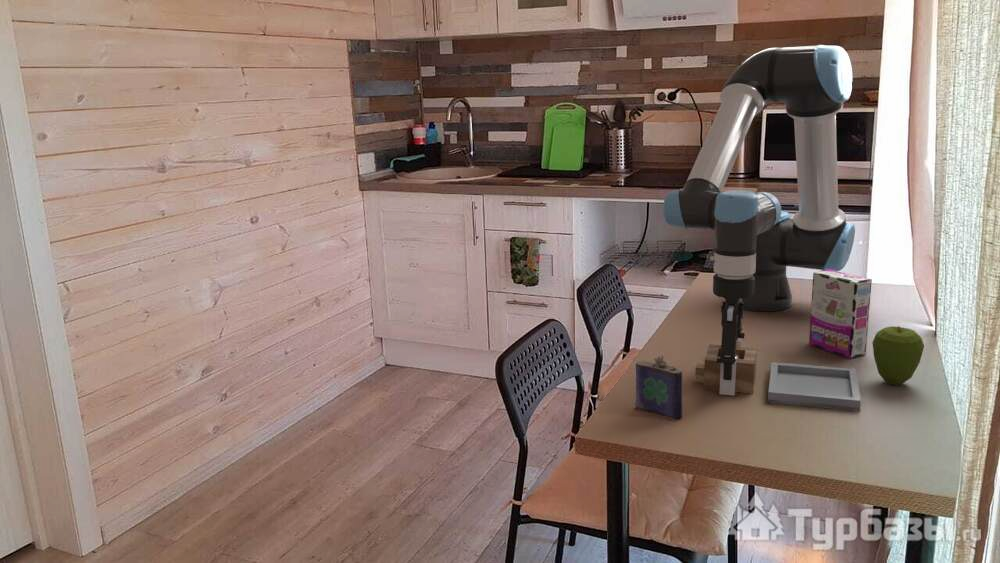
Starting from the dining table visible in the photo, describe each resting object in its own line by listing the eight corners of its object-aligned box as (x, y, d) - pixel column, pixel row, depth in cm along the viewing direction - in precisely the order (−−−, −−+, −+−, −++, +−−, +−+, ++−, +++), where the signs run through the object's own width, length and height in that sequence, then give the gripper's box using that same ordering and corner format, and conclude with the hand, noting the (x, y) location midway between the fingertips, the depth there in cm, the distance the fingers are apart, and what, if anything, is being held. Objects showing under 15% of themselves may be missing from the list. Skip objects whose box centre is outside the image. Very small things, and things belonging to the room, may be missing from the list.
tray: (771, 371, 159) (771, 362, 159) (855, 378, 154) (855, 369, 153) (768, 402, 145) (768, 392, 145) (860, 411, 140) (860, 400, 140)
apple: (877, 392, 148) (882, 333, 145) (863, 374, 156) (868, 318, 153) (927, 392, 146) (933, 333, 143) (910, 375, 154) (916, 318, 151)
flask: (632, 408, 145) (633, 353, 143) (641, 403, 147) (641, 349, 145) (677, 422, 139) (678, 364, 136) (686, 416, 141) (687, 359, 139)
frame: (698, 371, 161) (699, 343, 160) (755, 376, 157) (756, 347, 156) (693, 388, 153) (693, 358, 151) (752, 393, 149) (754, 363, 148)
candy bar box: (867, 354, 166) (873, 278, 162) (850, 359, 164) (856, 282, 159) (823, 339, 176) (828, 267, 171) (807, 344, 173) (812, 271, 169)
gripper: (719, 258, 161) (716, 358, 167) (706, 290, 140) (703, 404, 145) (758, 260, 159) (753, 361, 164) (751, 293, 137) (746, 408, 143)
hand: (729, 381), depth 155 cm, fingers open, 12 cm apart
